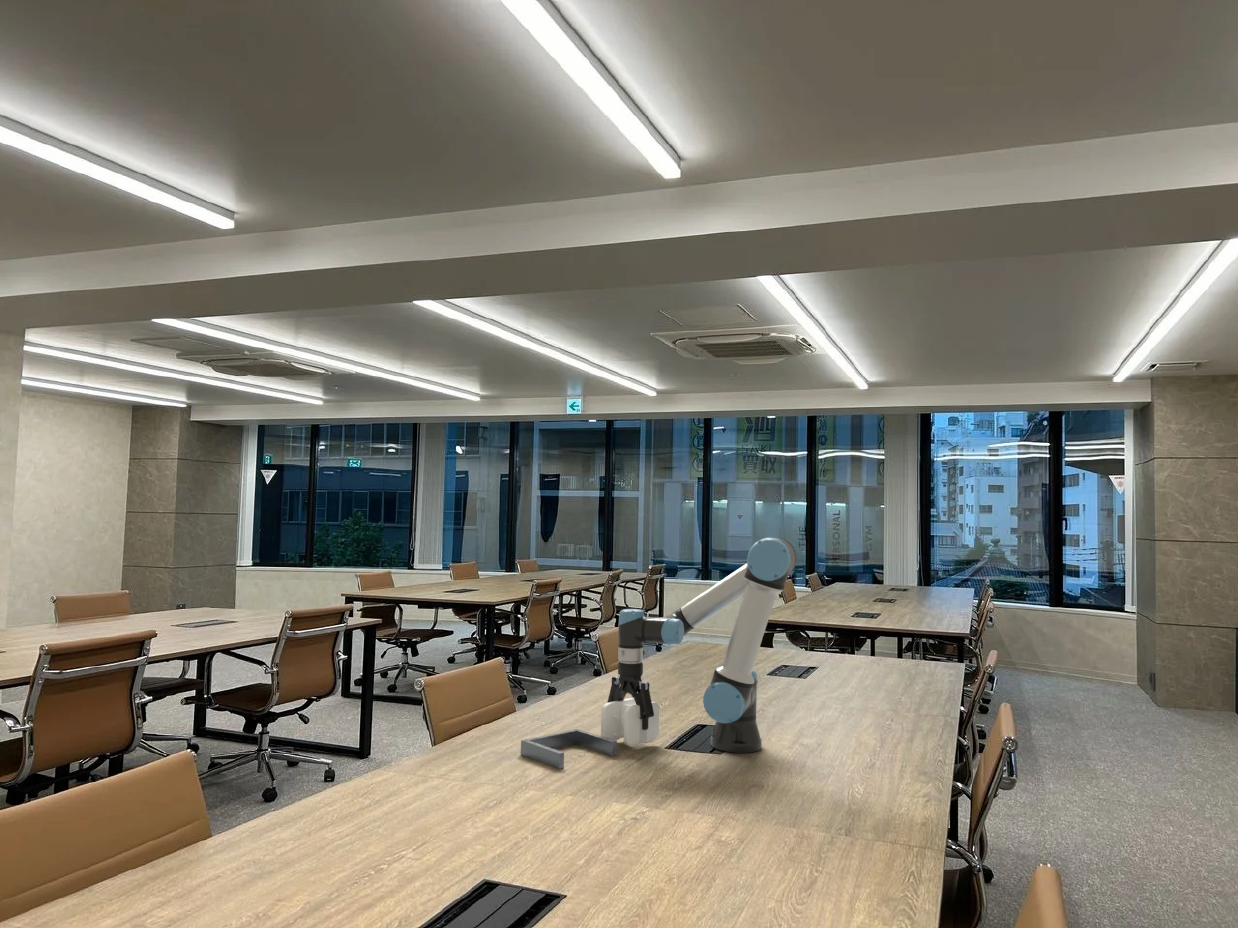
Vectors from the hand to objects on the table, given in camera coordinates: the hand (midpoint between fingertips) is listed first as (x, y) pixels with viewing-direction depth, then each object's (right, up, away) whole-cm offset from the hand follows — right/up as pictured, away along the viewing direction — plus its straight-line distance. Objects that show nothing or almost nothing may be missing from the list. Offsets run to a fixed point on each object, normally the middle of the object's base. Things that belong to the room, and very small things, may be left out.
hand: (629, 736), depth 249 cm
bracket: (-17, -1, -13) cm, 22 cm away
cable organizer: (0, -2, 0) cm, 2 cm away
